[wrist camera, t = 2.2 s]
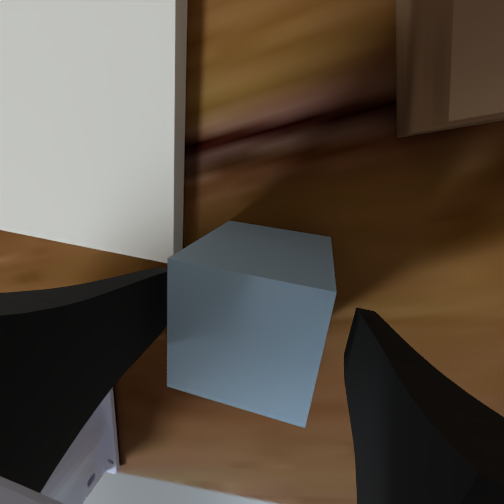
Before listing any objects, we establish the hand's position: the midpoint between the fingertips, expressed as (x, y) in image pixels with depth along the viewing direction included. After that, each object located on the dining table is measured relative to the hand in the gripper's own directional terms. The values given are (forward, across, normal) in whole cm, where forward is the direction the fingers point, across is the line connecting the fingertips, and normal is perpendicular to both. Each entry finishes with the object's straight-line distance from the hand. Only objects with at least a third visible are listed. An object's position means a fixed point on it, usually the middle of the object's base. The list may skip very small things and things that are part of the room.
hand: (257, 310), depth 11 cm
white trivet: (+4, +11, -6) cm, 13 cm away
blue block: (+4, 0, 0) cm, 4 cm away
